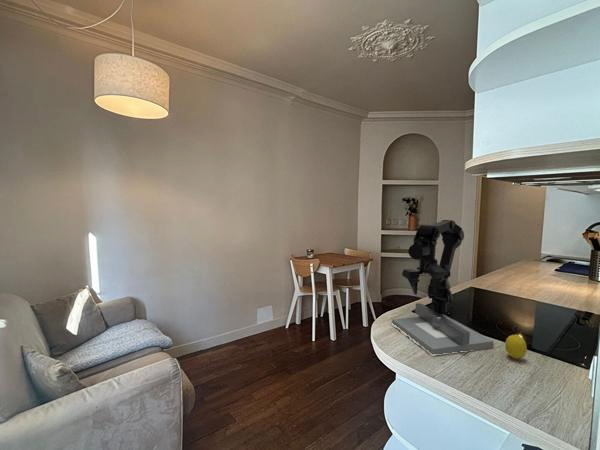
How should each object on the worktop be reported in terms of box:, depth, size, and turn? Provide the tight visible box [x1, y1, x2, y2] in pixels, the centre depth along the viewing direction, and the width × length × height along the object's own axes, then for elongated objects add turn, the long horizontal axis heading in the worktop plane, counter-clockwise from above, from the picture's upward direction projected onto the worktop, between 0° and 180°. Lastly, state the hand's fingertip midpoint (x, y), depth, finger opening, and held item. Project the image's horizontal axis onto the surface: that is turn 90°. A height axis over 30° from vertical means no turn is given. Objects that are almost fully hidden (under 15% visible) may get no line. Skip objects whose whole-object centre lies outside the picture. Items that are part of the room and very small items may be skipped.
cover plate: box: [391, 314, 494, 354], centre depth 110 cm, size 24×24×3 cm
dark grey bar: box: [414, 302, 470, 345], centre depth 109 cm, size 27×4×4 cm, turn 11°
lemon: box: [504, 333, 528, 360], centre depth 94 cm, size 6×6×8 cm
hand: (425, 293), depth 121 cm, fingers open, 9 cm apart
